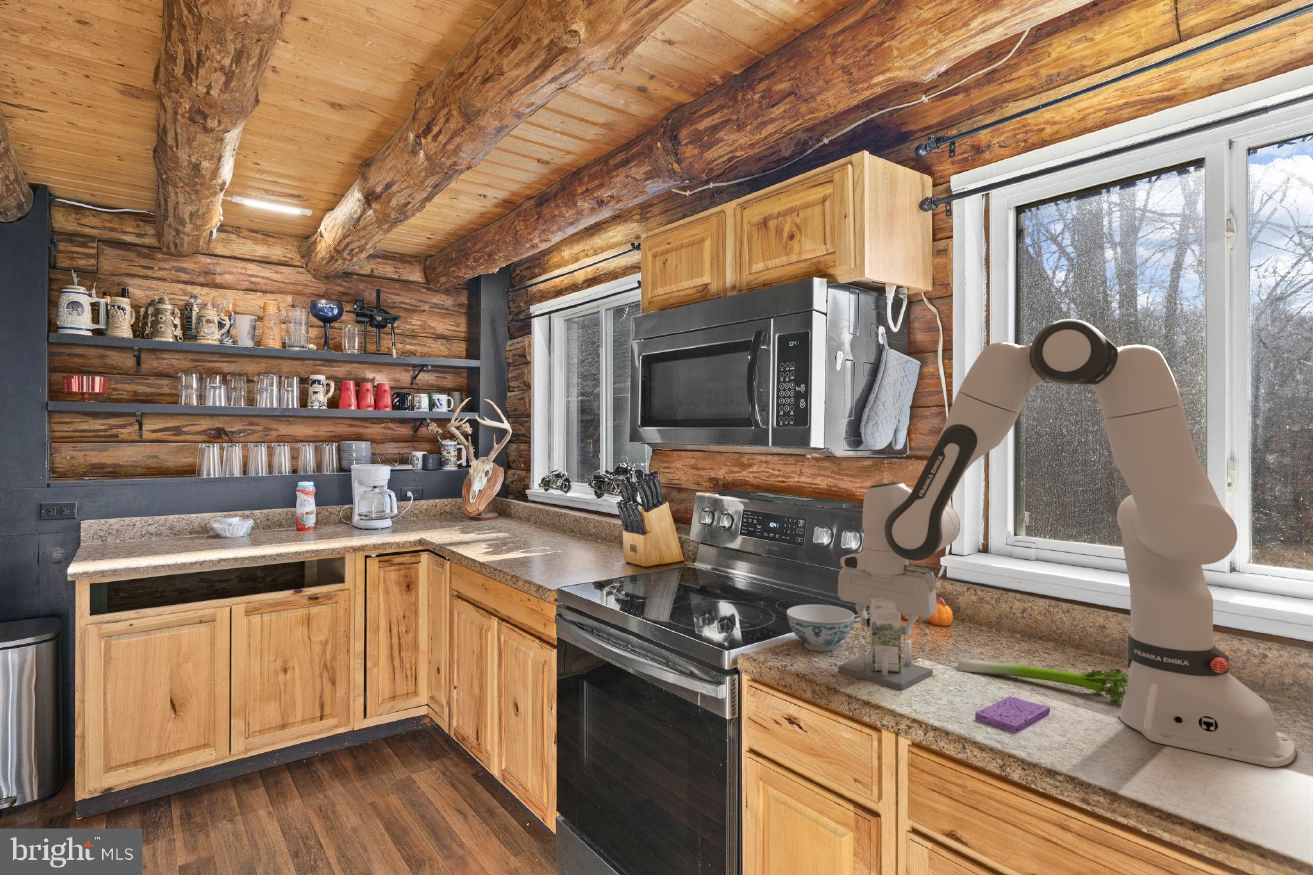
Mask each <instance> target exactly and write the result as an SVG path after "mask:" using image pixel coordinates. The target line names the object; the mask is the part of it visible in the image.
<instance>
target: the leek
mask: <svg viewBox="0 0 1313 875" xmlns="http://www.w3.org/2000/svg"><path fill="white" fill-rule="evenodd" d="M956 668H957V669H956V670H957V671H958V670H961V671H960V672H964V671H966V672H965V673H971V672H975V673H974V674H986V675H987V674H989V675H996V676H997V675H999V676H1008V677H1009V676H1010V677H1016V678H1017V677H1018V678H1019V677H1020V678H1025V679H1026V678H1027V679H1032V680H1041V681H1049V682H1055V683H1059V684H1066V685H1072V686H1075V687H1076V686H1077V687H1080V688H1085V689H1088V690H1092V691H1095V693H1097V694H1098V693H1104V694H1105V696H1108V697H1110V699H1111V701H1112V702H1113V703H1117V704H1119V703H1120V701H1122V700H1123V699H1124V696H1125V691H1126V686H1127V680H1128V674H1127V673H1125V672H1123V671H1122V670H1120V669H1119V668H1114V669H1112V668H1111V669H1109V670H1106V671H1104V672H1103V670H1096V669H1091V672H1089V673H1083V672H1082V673H1078V672H1069V671H1061V670H1055V669H1049V668H1048V669H1046V668H1040V667H1034V666H1033V667H1031V666H1027V665H1026V666H1025V665H1020V664H1019V665H1017V664H1008V663H1000V662H992V661H985V660H977V659H967V658H960V659H959V660H958V663H957V667H956Z"/></svg>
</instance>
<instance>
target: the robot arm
mask: <svg viewBox="0 0 1313 875" xmlns="http://www.w3.org/2000/svg"><path fill="white" fill-rule="evenodd" d="M1043 383H1045V384H1055V385H1059V386H1074V385H1087V386H1089V387H1090V388H1091V389H1092V390H1093V391H1094V393H1095V394H1096V396H1097V399H1098V402H1099V404H1100V410H1101V414H1102V418H1103V421H1104V425H1105V429H1106V430H1105V431H1106V433H1107V437H1108V441H1109V445H1110V449H1111V454H1112V457H1113V460H1114V464H1115V466H1116V467H1117V469H1118V471H1119V472H1120V473H1121V475H1122V477H1123V479H1124V481H1125V483H1126V485H1127V487H1128V489H1129V492H1130V495H1128V496H1126V497H1125V498H1124V499H1123V500H1122V501H1121V502H1120V504H1119V506H1118V508H1117V512H1116V520H1117V524H1118V526H1119V529H1120V534H1121V539H1122V540H1121V541H1122V548H1123V554H1124V555H1123V556H1124V560H1125V565H1126V570H1127V575H1128V583H1129V594H1130V633H1129V634H1128V635H1127V641H1126V646H1125V647H1126V648H1125V650H1126V655H1125V657H1126V659H1125V660H1126V664H1127V665H1126V666H1127V668H1128V674H1127V675H1128V678H1127V679H1128V680H1127V683H1126V685H1127V686H1126V687H1125V689H1126V691H1125V694H1124V696H1123V698H1124V699H1122V704H1121V705H1120V706H1121V707H1120V709H1119V711H1118V714H1117V715H1118V718H1119V719H1120V721H1122V722H1123V723H1125V724H1126V725H1127V726H1129V727H1130V728H1133V729H1135V730H1136V731H1138V732H1140V733H1141V734H1142V735H1143V736H1144V737H1145V738H1146V739H1148V740H1149V741H1151V742H1154V743H1156V744H1162V745H1167V746H1171V747H1175V748H1180V749H1185V750H1190V751H1195V752H1199V753H1205V754H1208V755H1213V756H1218V757H1222V758H1226V759H1232V760H1235V761H1240V762H1244V763H1245V762H1246V763H1250V764H1255V765H1258V766H1259V765H1260V766H1264V767H1269V768H1270V767H1271V768H1277V767H1283V766H1286V765H1289V764H1290V763H1292V762H1293V761H1294V759H1295V758H1296V753H1297V752H1296V744H1295V742H1294V741H1293V740H1292V739H1291V738H1290V737H1289V736H1287V735H1286V734H1285V733H1282V732H1280V731H1277V726H1276V721H1275V718H1274V715H1273V712H1272V710H1271V708H1270V705H1269V704H1268V703H1267V702H1266V700H1265V699H1263V698H1262V697H1260V696H1259V695H1258V694H1256V693H1255V692H1254V691H1252V690H1251V689H1250V688H1249V687H1248V686H1246V685H1245V684H1243V683H1242V682H1241V681H1240V680H1238V678H1236V677H1235V676H1233V675H1231V673H1229V671H1230V658H1229V655H1230V653H1229V651H1228V650H1226V651H1225V652H1224V651H1222V650H1221V649H1219V648H1218V647H1216V646H1215V645H1214V644H1213V643H1214V599H1213V595H1212V592H1211V591H1210V589H1209V586H1208V583H1207V581H1206V578H1205V574H1204V570H1203V565H1204V566H1205V565H1213V564H1215V563H1218V562H1220V561H1222V560H1224V559H1225V558H1226V557H1228V556H1229V555H1230V554H1231V553H1232V552H1233V550H1234V548H1235V547H1236V544H1237V542H1238V529H1237V526H1236V523H1235V522H1234V520H1233V518H1232V516H1231V515H1230V514H1229V513H1228V512H1227V511H1226V509H1225V508H1224V507H1223V505H1222V504H1221V501H1220V500H1219V497H1218V495H1217V493H1216V491H1215V489H1214V487H1213V485H1212V482H1211V480H1210V478H1209V476H1208V475H1207V473H1206V470H1205V468H1204V467H1203V465H1202V463H1201V461H1200V459H1199V456H1198V454H1197V451H1196V448H1195V446H1194V442H1193V439H1192V435H1191V432H1190V428H1189V424H1188V421H1187V417H1186V412H1185V410H1184V406H1183V401H1182V398H1181V394H1180V392H1179V389H1178V386H1177V383H1176V381H1175V378H1174V376H1173V373H1172V371H1171V369H1170V367H1169V365H1168V363H1167V361H1166V359H1165V358H1164V356H1163V354H1162V353H1161V352H1160V351H1159V350H1158V349H1157V348H1154V347H1152V346H1149V345H1144V344H1132V345H1131V344H1130V345H1125V346H1120V347H1119V346H1118V347H1117V346H1116V345H1115V343H1113V342H1112V341H1111V340H1110V339H1108V337H1106V336H1105V335H1104V334H1103V333H1102V332H1101V331H1100V330H1098V328H1096V326H1093V325H1092V324H1090V323H1089V322H1086V321H1084V320H1080V319H1074V318H1067V319H1066V318H1065V319H1060V320H1057V321H1053V322H1051V323H1049V324H1047V325H1046V326H1044V327H1043V328H1042V329H1041V330H1039V331H1038V333H1037V334H1036V336H1035V337H1034V339H1033V341H1032V342H1031V343H1029V344H1027V345H1022V344H1021V345H1020V344H1016V343H1012V342H1004V341H1002V342H994V343H991V344H989V345H987V346H986V347H985V348H983V350H982V351H981V352H980V354H979V355H978V357H977V358H976V360H975V361H974V362H973V363H972V365H971V367H970V368H969V370H968V372H967V373H966V375H965V377H964V379H963V380H962V383H961V385H960V387H959V389H958V391H957V393H956V395H955V397H954V400H953V402H952V404H951V407H950V409H949V410H950V411H949V412H948V415H947V418H946V421H945V423H944V426H943V427H942V429H941V433H940V434H939V437H938V440H937V442H936V444H935V446H934V449H933V451H932V452H931V454H930V456H929V458H928V460H927V462H926V463H925V465H924V468H923V469H922V472H921V474H920V475H919V477H918V479H917V480H916V483H915V484H914V486H913V488H912V489H911V488H909V487H908V486H907V485H906V484H905V482H902V481H901V482H900V481H891V482H885V483H884V482H883V483H879V484H878V483H877V484H873V485H871V486H869V487H868V488H866V491H865V493H864V496H863V503H862V504H863V505H862V520H861V521H862V529H863V534H864V538H863V542H862V551H859V552H856V553H852V554H848V555H845V556H842V557H841V558H840V566H841V567H842V568H841V569H840V571H839V573H838V577H837V578H838V579H837V580H838V581H837V595H838V597H839V599H840V600H841V601H844V602H849V603H853V604H855V610H856V612H857V614H858V615H859V617H860V625H861V626H862V627H867V628H868V627H869V628H870V615H869V616H868V612H867V610H866V608H867V606H868V607H870V596H874V597H879V598H884V599H887V600H891V601H894V602H896V605H895V608H896V611H897V612H901V613H902V614H905V619H906V620H907V621H906V624H904V625H901V636H906V637H910V636H912V634H913V626H914V624H915V623H916V621H917V620H918V619H919V618H918V617H920V618H921V617H922V618H928V617H932V616H933V615H934V614H935V613H936V612H937V610H938V605H937V604H938V602H937V594H936V576H935V575H934V573H933V572H932V571H930V570H929V569H928V568H926V567H918V566H915V565H909V561H913V562H917V561H918V562H919V561H924V560H925V559H928V558H930V557H931V556H932V555H933V554H934V553H936V552H938V551H940V550H942V549H944V548H946V547H948V546H949V545H950V544H952V543H954V541H955V540H956V539H957V538H958V535H959V534H960V530H961V522H960V518H959V516H958V513H957V512H956V510H955V509H954V508H953V507H952V506H951V505H949V504H948V503H950V501H951V498H952V497H953V495H954V493H955V491H956V489H957V487H958V485H959V483H960V482H961V479H962V477H963V476H964V474H965V473H966V472H967V471H968V469H969V468H970V467H972V465H973V464H974V463H975V462H976V461H977V460H979V459H980V458H981V457H983V456H984V455H986V454H987V453H989V452H991V451H992V450H993V449H995V448H996V447H998V446H999V445H1000V444H1001V443H1002V442H1003V440H1004V439H1005V438H1006V437H1007V435H1008V434H1009V432H1010V431H1011V429H1012V428H1013V426H1014V425H1015V423H1016V421H1017V419H1018V417H1019V415H1020V412H1021V411H1022V408H1023V407H1024V404H1025V402H1026V401H1027V399H1028V396H1029V395H1030V394H1031V392H1032V391H1033V390H1034V388H1036V387H1037V386H1038V385H1040V384H1043Z"/></svg>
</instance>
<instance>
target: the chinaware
mask: <svg viewBox="0 0 1313 875" xmlns="http://www.w3.org/2000/svg"><path fill="white" fill-rule="evenodd" d="M786 617H787V620H788V624H789V626H790V629H791V630H792V632H793V633H794V634H795V635H794V636H796V637H797V639H799V640H800V641H801V642H803V643H804V646H805V648H807V649H808V650H810V651H816V652H830V651H833V650H835V649H836V645H838V644H840V643H841V642H842V641H843V640H845V639H846V637H847V636H848V635H849V633H850V632H851V629H852V627H853V625H854V620H855V613H854V612H852V610H850V609H846V608H844V607H841V606H835V605H828V604H799V605H794V606H792V607H789V608H788V609H786Z"/></svg>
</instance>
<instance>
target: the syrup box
mask: <svg viewBox="0 0 1313 875" xmlns="http://www.w3.org/2000/svg"><path fill="white" fill-rule="evenodd" d="M895 605H896V602H894V601H891V600H887V599H884V598H879V597H874V596H870V606H869V617H870V626H869V644H870V645H869V647H870V648H869V649H870V651H869V653H870V659H871V665H872V670H873V671H881V650H887V651H888V672H902V663H901V661H902V634H901V626H902V614H901V612H897V611H896V608H895Z"/></svg>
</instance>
